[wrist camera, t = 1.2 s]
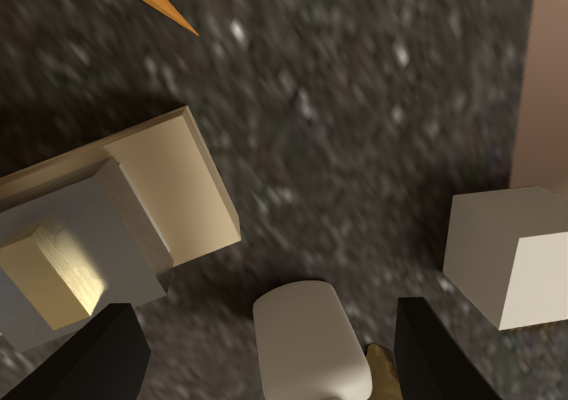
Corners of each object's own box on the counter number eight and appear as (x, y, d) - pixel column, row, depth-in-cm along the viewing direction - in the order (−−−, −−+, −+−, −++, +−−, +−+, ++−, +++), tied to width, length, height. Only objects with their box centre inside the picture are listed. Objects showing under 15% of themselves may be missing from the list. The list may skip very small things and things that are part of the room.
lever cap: (45, 311, 19) (7, 371, 16) (-35, 213, 17) (-102, 258, 13) (174, 261, 19) (163, 309, 16) (112, 155, 17) (84, 185, 13)
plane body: (-74, 339, 22) (-120, 385, 19) (-172, 245, 19) (-244, 282, 16) (238, 216, 22) (241, 243, 19) (187, 105, 20) (181, 116, 16)
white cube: (534, 185, 25) (623, 224, 20) (517, 260, 27) (591, 315, 22) (451, 194, 24) (519, 238, 19) (441, 272, 27) (499, 331, 21)
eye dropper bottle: (320, 332, 27) (389, 529, 16) (245, 321, 26) (265, 529, 15) (341, 282, 26) (433, 460, 15) (263, 267, 24) (300, 453, 13)
